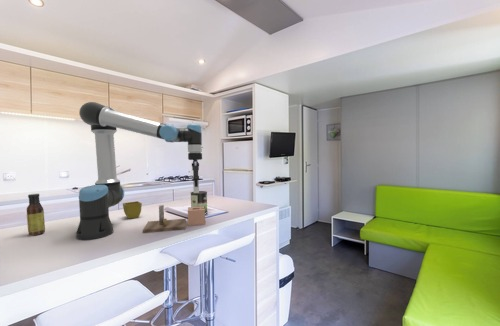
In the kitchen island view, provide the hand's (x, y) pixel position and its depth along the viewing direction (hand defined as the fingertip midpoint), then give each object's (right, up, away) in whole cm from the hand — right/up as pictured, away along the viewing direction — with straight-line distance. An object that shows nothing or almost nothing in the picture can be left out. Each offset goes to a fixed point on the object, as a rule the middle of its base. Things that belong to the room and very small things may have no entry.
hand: (196, 190), depth 131 cm
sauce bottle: (-75, -20, -15) cm, 79 cm away
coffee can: (-3, -17, +20) cm, 27 cm away
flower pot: (-42, -18, +14) cm, 48 cm away
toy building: (0, -18, +1) cm, 18 cm away
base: (-15, -18, -6) cm, 24 cm away
